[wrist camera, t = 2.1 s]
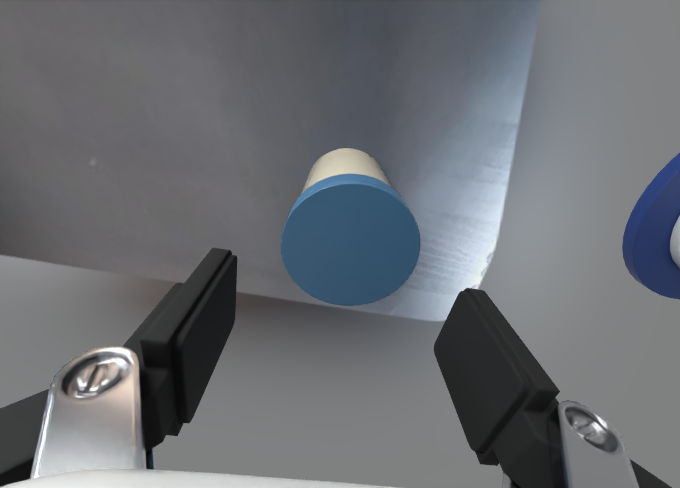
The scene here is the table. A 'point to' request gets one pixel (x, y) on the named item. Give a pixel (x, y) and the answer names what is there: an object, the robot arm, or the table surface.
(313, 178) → the jar
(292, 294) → the table surface
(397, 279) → the lid
